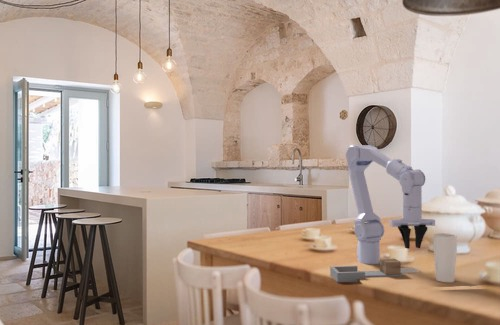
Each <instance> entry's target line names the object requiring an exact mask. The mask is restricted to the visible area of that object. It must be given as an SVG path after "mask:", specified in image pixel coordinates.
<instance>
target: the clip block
mask: <svg viewBox="0 0 500 325" xmlns="http://www.w3.org/2000/svg"><path fill="white" fill-rule="evenodd" d="M401 268H402V267H401V261H400V260H397V259H396V258H380V263H379V271H381V272H382V273H384V274H385V275H390V274H401Z"/></svg>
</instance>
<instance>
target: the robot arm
mask: <svg viewBox="0 0 500 325" xmlns="http://www.w3.org/2000/svg"><path fill="white" fill-rule="evenodd" d="M345 158H346V162H347V166H348V167H347V171H348V175H349V181H350V185H351V189H352V193H353V197H354V201H355V205H356V210H357V214H358V216H357V217H356V218H355V219H354V221H353V223H354V228H353V229H354V231H353V232H354V236H355V237H356V239H357V241H358V242H357V244H356V259H357V260H358V262H359V263H360V264H363V265H364V264H365V265H378V264H379V265H380V259H381V258H380V256H381V255H380V252H381V251H380V250H381V249H380V247H381V246H380V245H381V244H380V241H382V238H383V236H384V234H385V228H384V224H383V223H382V222H381V218H380V216H378V215H377V214H376V213H375V212H374V209H373V205H372V201H371V196H370V192H369V190H368V189H369V187H368V184H367V180H366V175H365V171H366V169H368V167H370V165H371V164H372V163H373V162H375V163H376V164H378V165H379V166H381V167H383V168H385V171H386V173H387V174H388V175H390V176H391V177H392V178H395V179H396V180H397V181H398V183H399V184H400V187H401V192H402V199H403V200H402V201H403V202H402V203H403V204H402V205H403V208H402V209H403V210H402V212H403V213H402V216H403V218H401V219H390V220H389V226H390V227H392V228H393V227H397V229H398V231H399V233H400V234H401V238H402V240H403V245H404V248H405V249H410V248H411V246H410V245H411V244H410V243H411V241H410V238H411V231H412V228H410V227H413V228H414V235H415V248H417V249H421V246H422V243H423V239H424V237H425V234H426V233H427V232H428V226H432V227H435V226H436V219H433V218H422V216H423V214H422V211H423V210H422V207H423V205H422V202H423V201H422V199H423V198H422V195H423V194H422V192H423V191H422V188H423V186H424V185H425V184H426V176H425V173H424V172H423V171H422V170H421V169H413V167H412V166H411V165H407V164H405V163H403V160H402V159H399V158H398V159H396V158H395V159H391V158H390V157H388V156H387V155H385V154H384V153H383V152H381V151H380V150H378V147H375V146H374V145H372V144H368V145H366V144H365V145H364V144H363V145H361V144H358V145H356V144H350V145H349V147H348V148H347V150H346V151H345Z"/></svg>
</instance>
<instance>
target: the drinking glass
mask: <svg viewBox="0 0 500 325" xmlns="http://www.w3.org/2000/svg"><path fill="white" fill-rule="evenodd" d="M432 244H433V246H432V247H433V257H434V270H435V280H436V281H438V282H443V283H454V282H455V278H456V277H455V274H456V273H455V272H456V262H457V252H458V251H457V250H458V249H457V248H458V240H457V235H456V234H452V233H440V232H439V233H434V234H433V242H432Z"/></svg>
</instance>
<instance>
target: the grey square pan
mask: <svg viewBox="0 0 500 325" xmlns="http://www.w3.org/2000/svg"><path fill="white" fill-rule="evenodd" d="M329 273H330V274H329V276H330V277H331V278H332V279H334V281H335V282H336V283H359V282H360V283H361V281H360V279H361V280H362V279H363V280H365V279H366V278H387V277H389V278H390V277H391V278H392V277H403V276H404V273H401V274H390V275H385V274H384V273H382V272H381V271H380V270H358V265H333V266H331V265H330V267H329Z"/></svg>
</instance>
